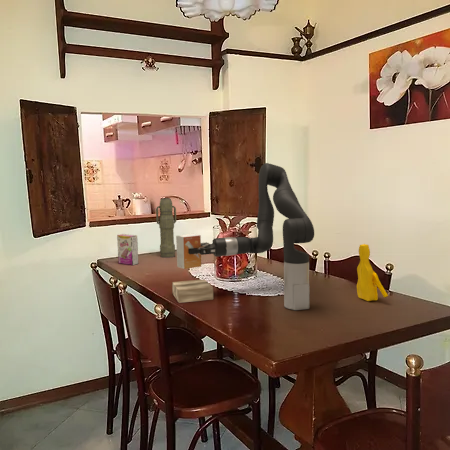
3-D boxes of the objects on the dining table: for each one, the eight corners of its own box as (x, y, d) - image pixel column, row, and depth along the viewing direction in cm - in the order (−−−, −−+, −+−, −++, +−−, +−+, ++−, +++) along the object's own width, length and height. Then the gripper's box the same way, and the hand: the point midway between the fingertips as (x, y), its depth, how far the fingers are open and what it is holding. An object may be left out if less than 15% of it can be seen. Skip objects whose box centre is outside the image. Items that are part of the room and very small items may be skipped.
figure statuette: (391, 304, 174) (393, 246, 171) (375, 306, 171) (376, 248, 168) (360, 292, 190) (361, 240, 188) (345, 295, 187) (345, 241, 185)
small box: (184, 269, 183) (183, 237, 181) (176, 266, 188) (175, 235, 186) (202, 266, 187) (200, 234, 186) (194, 264, 192) (193, 233, 191)
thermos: (179, 256, 276) (177, 198, 272) (161, 258, 271) (158, 199, 267) (174, 254, 284) (172, 197, 280) (156, 256, 279) (153, 198, 274)
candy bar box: (117, 263, 258) (116, 234, 256) (124, 262, 263) (123, 233, 261) (132, 265, 252) (131, 236, 250) (138, 264, 257) (137, 234, 255)
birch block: (213, 299, 185) (213, 287, 184) (178, 302, 181) (178, 290, 180) (204, 290, 198) (204, 279, 197) (172, 293, 194) (172, 282, 194)
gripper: (220, 235, 197) (182, 238, 193) (229, 240, 184) (189, 243, 179) (220, 252, 198) (183, 255, 194) (230, 258, 185) (190, 262, 180)
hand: (186, 249), depth 187 cm, fingers closed on small box, 8 cm apart
